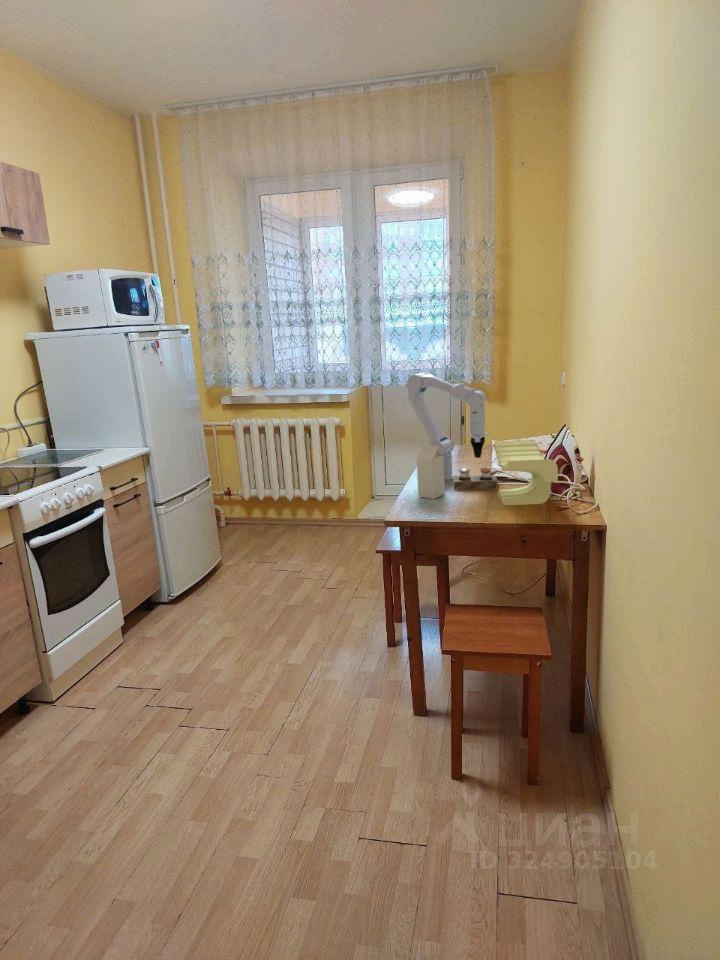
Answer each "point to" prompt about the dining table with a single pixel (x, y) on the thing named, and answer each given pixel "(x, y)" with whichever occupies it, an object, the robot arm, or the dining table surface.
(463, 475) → the grey plunger
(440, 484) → the milk carton
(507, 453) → the slatted curved stool
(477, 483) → the console
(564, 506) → the dining table surface
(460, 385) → the robot arm
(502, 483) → the dining table surface
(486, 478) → the copper push button
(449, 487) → the dining table surface
